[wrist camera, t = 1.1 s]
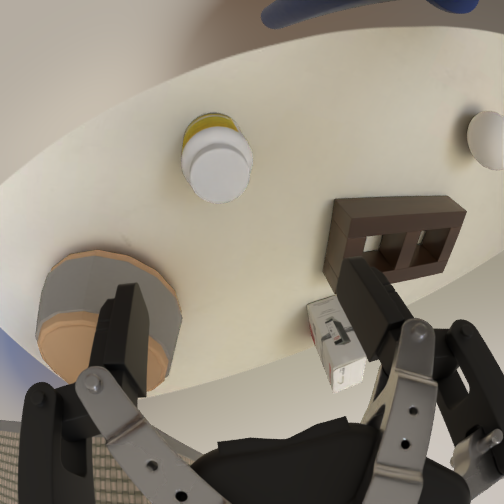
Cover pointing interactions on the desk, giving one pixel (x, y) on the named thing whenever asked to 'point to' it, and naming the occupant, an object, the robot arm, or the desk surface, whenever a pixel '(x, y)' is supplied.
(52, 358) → the desk lamp
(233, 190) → the supplement bottle
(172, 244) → the desk surface
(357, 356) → the ink box
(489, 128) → the ball
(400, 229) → the dock
